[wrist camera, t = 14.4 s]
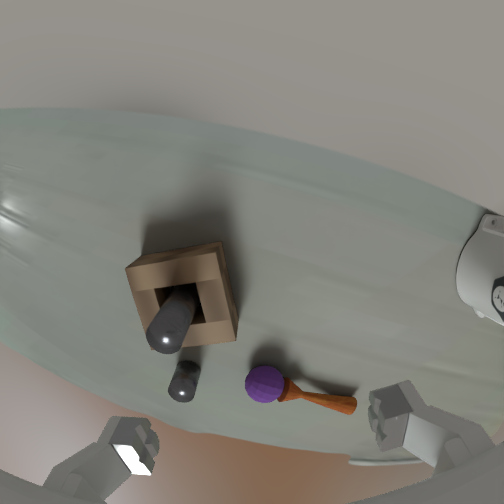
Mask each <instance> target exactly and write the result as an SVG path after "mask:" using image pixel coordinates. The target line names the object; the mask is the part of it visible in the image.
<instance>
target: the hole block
mask: <svg viewBox="0 0 504 504" xmlns="http://www.w3.org/2000/svg"><path fill="white" fill-rule="evenodd" d="M125 271H126V274H127V278H128V281H129V285H130V288H131V291H132V294H133V298H134V301H135V304H136V307H137V310H138V313H139V316H140V319H141V322H142V325H143V328H144V331H145V334H146V330H147V328H148V326H149V325H150V323H151V322H152V320H153V319H154V317H155V316H156V314H157V313H158V311H159V310H160V308H161V307H162V305H163V304H164V302H165V301H166V299H167V298H168V296H169V295H170V293H171V289H170V286H174V285H181V284H187V283H194V282H196V285H197V289H198V293H199V297H200V301H201V306H198V307H197V310H196V312H195V315H194V317H193V319H192V322H191V324H190V327H189V329H188V331H187V334H186V336H185V339H184V341H183V344H182V346H181V347H190V346H200V345H208V344H217V343H225V342H232V341H236V337H237V329H238V321H239V320H238V315H237V311H236V307H235V302H234V298H233V293H232V288H231V284H230V279H229V275H228V270H227V265H226V261H225V256H224V251H223V246H222V241H220V242H214V243H209V244H203V245H198V246H192V247H187V248H181V249H176V250H170V251H165V252H160V253H154V254H149V255H144V256H140V257H139V258H138V259H136V260H135V261H134V262H133V263H131V264H130V265H129V266H127V267H126V268H125ZM150 348H151V350H155V349H153V348H152V347H151V346H150Z"/></svg>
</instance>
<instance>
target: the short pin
mask: <svg viewBox="0 0 504 504" xmlns="http://www.w3.org/2000/svg"><path fill="white" fill-rule="evenodd" d="M199 376H200V368H199V366H198V365H197V364H196V363H194V362H192V361H188V360H185V361H181V362H180V363H178V365H177V367H176V370H175V372H174V375H173V378H172V380H171V383H170V385H169V388H168V393H169V395H170V396H171V397H172V398H173V399H174V400H176V401H178V402H189V401H191V400H192V399H193V398H194V395H195V391H196V387H197V384H198V380H199Z"/></svg>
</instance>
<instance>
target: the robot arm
mask: <svg viewBox="0 0 504 504" xmlns="http://www.w3.org/2000/svg"><path fill="white" fill-rule="evenodd" d="M456 284H457V290H458V293H459V295H460V297H461V299H462V300H463V301H464V302H465V303H466V304H467V305H469V306H471V307H473V309H474V311H475V313H476V314H477V316H479V317H481V318H483V317H485V316H487V317H489V318H490V319H492V320H494V321H496V322H497V323H499V324H501V325H503V326H504V216H500V215H493V214H485V215H484V216H483V218H482V220H481V222H480V224H479V227H478V229H477V231H476V232H475V234H474V235H473V236H472V237H471V238H470V240H469V241H468V242H467V244H466V246H465V247H464V249H463V251H462V254H461V256H460V259H459V263H458V267H457V274H456ZM369 401H370V403H371V405H370V406H369V408H368V417H369V423H370V427H371V429H372V431H373V432H375V433H376V439H375V440H376V442H377V445H378V447H379V450H380V452H383V451H387V450H390V449H394V448H397V447H401V446H403V448H405V449H406V450H408V451H409V452H411V453H413V454H414V455H416V456H417V457H419V458H420V459H422V460H423V461H425V462H426V463H428V464H430V465H431V466H433V467H434V468H435V469H434V471H433V474H432V476H431V477H430V478H428V479H425V480H423V481H420V482H417V483H415V484H412V485H409V486H406V487H403V488H401V489H398V490H394V491H391V492H388V493H385V494H382V495H378V496H375V497H371V498H367V499H364V500H360V501H355V502H352V503H347V504H504V441H503V442H502V443H500V444H498V445H496V446H495V444H494V443H493V441H492V440H491V439H490V437H489V436H488V434H487V433H486V432H485V430H484V429H483V427H482V426H481V425H480V424H477V423H474V422H472V421H469V420H466V419H464V418H461V417H459V416H456V415H453V414H451V413H448V412H446V411H443V410H441V409H438V408H436V407H433V406H428V407H427V405H426V404H425V402H424V401H423V399H422V398H421V396H420V395H419V393H418V392H417V390H416V389H415V387H414V386H413V384H412V382H411V381H409V380H406V381H403V382H400V383H397V384H394V385H391V386H387V387H384V388H380V389H376V390H373V391H370V393H369ZM150 427H151V423H150V421H149V420H148V419H147V418H136V417H119V416H112V417H111V418H110V419H109V421H108V423H107V424H106V426H105V428H104V430H103V432H102V434H101V436H100V437H99V439H98V441H97V443H92V444H90V445H89V446H87V447H86V448H84V449H82V450H81V451H79V452H78V453H76V454H74V455H73V456H71V457H69V458H68V459H66V460H65V461H63V462H61V463H60V464H58V465H56V466H55V467H53V469H52V471H51V472H50V474H49V476H48V478H47V479H46V481H45V483H44V484H43V486H39V485H36V484H34V483H31V482H29V481H26V480H24V479H21V478H19V477H16V476H14V475H12V474H9V473H7V472H5V471H3V470H1V469H0V504H107V503H106V502H105V501H104V500H105V499H106V498H107V497H108V496H109V495H110V494H112V493H113V492H114V491H115V490H116V489H117V488H118V487H119V486H120V485H121V484H122V483H123V482H125V481H126V480H127V479H128V478H129V477H130V476H131V475H132V474H131V473H133V474H145V475H151V473H152V470H153V467H154V464H155V462H154V460H153V458H154V457H155V456H156V455H157V454H158V451H159V439H158V436H157V434H156V432H154V431H153V430H151V429H150Z"/></svg>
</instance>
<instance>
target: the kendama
mask: <svg viewBox="0 0 504 504" xmlns="http://www.w3.org/2000/svg"><path fill="white" fill-rule="evenodd" d="M245 389H246V391H247V393H248V395H249V396H250V397H251V398H252V399H253V400H255V401H257V402H261V403H267V402H272V401H274V400H275V399H277V400H278V401H279V402H283V401H288V400H293V399H297V398H303V399H306V400H309V401H311V402H314V403H317V404H319V405H322V406H325V407H328V408H331V409H333V410H336V411H339V412H342V413H345V414H348V415H350V414H352V413H353V412H354V411H355V409H356V407H357V400H356V398H355V397H348V396H337V395H328V394H319V393H311V392H303V391H302V390H301V389H300V388H299V387H298V386H297V385H295V384H294V383H293V382H292V381H291V380H290V379H289V378H288V377H285V378H284V379H283V377H282V374H281V373H280V372H279V371H278V370H276V369H275V368H274V367H271V366H268V365H266V366H258V367H256V368H254V369H252V370H251V371H250V372H249V374H248V375H247V377H246V380H245Z"/></svg>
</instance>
